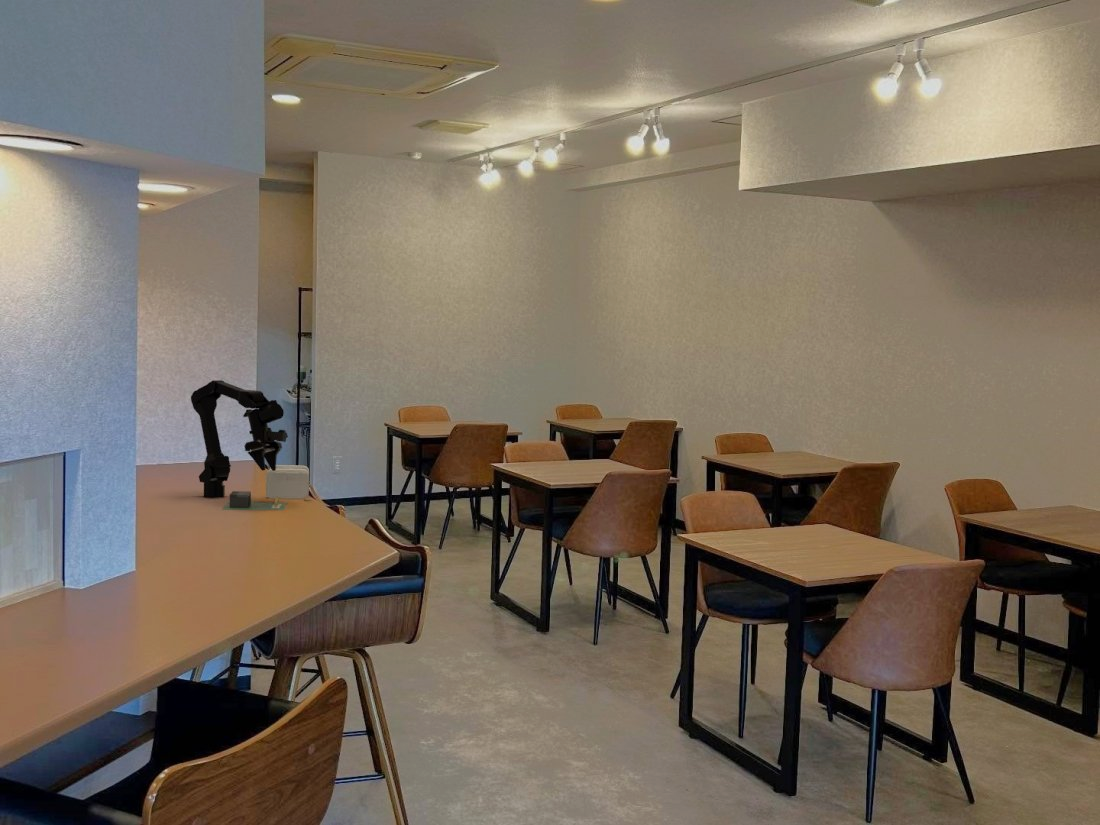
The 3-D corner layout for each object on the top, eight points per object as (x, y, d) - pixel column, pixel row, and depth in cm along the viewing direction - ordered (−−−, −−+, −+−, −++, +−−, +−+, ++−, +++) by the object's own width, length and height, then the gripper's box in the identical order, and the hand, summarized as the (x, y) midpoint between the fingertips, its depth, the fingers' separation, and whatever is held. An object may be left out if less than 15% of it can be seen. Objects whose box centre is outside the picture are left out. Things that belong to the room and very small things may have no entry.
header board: (221, 511, 342) (221, 500, 341) (228, 504, 356) (228, 493, 355) (283, 512, 345) (283, 501, 345) (287, 505, 359) (287, 494, 358)
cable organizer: (311, 496, 378) (311, 465, 378) (307, 501, 368) (308, 469, 367) (269, 496, 377) (270, 464, 376) (265, 500, 366) (265, 468, 365)
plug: (229, 507, 345) (229, 494, 345) (232, 504, 352) (232, 491, 352) (247, 508, 346) (248, 494, 346) (250, 504, 353) (250, 491, 353)
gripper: (270, 419, 342) (280, 464, 341) (290, 422, 361) (300, 465, 359) (239, 427, 343) (249, 472, 342) (261, 430, 362) (271, 472, 360)
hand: (268, 470), depth 351 cm, fingers open, 9 cm apart
